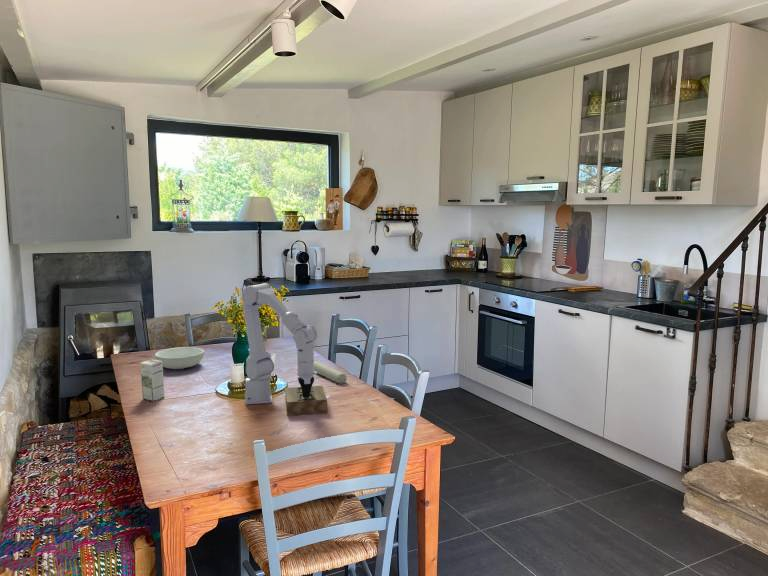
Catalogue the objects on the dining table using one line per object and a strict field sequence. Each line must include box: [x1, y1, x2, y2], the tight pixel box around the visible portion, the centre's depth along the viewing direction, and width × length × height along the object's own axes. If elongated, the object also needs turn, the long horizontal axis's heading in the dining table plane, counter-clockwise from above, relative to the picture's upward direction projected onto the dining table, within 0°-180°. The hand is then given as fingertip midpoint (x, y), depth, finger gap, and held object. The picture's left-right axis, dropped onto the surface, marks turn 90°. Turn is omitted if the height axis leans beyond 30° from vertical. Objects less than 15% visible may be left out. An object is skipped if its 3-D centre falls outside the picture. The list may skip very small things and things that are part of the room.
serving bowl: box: [154, 346, 205, 370], centre depth 262 cm, size 21×21×7 cm
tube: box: [314, 359, 348, 385], centre depth 247 cm, size 5×5×25 cm
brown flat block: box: [284, 385, 328, 417], centre depth 211 cm, size 14×16×5 cm
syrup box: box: [139, 358, 165, 402], centre depth 219 cm, size 6×6×14 cm
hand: (306, 397), depth 207 cm, fingers closed, pressing on steel peg
